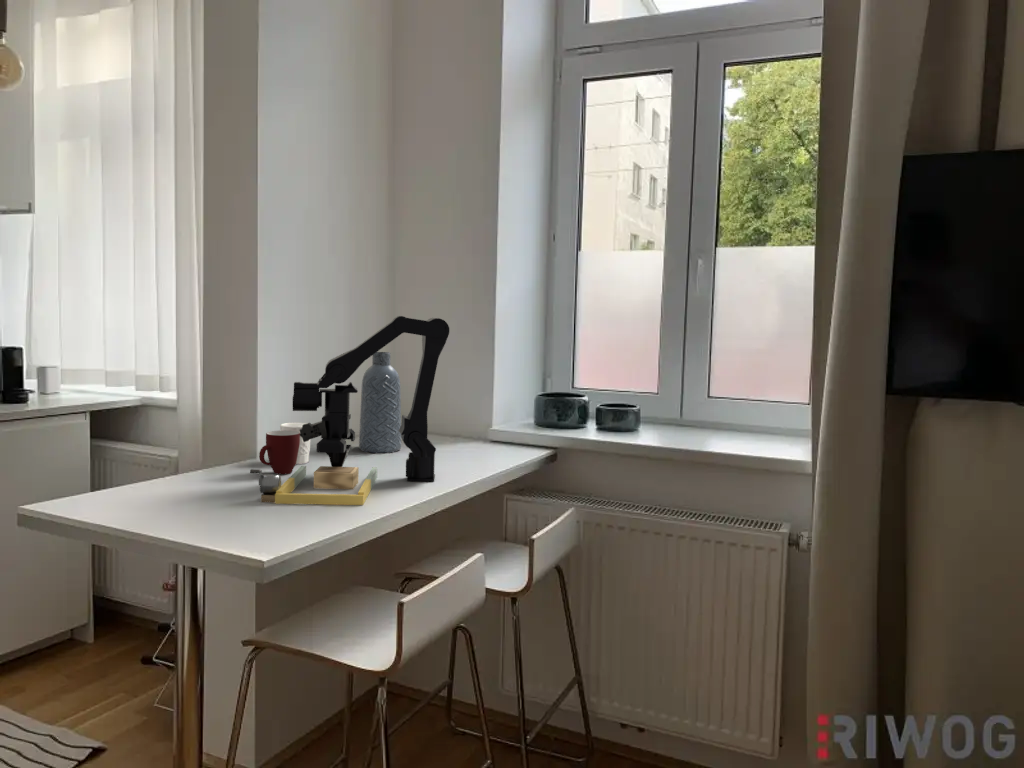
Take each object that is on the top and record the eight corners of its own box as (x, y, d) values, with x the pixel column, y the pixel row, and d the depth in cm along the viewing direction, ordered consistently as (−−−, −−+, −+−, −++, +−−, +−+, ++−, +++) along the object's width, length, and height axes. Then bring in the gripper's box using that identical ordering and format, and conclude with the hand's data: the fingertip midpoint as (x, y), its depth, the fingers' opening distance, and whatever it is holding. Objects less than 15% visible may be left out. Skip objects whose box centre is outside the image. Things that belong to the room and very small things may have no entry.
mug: (274, 479, 197) (274, 438, 196) (250, 475, 201) (250, 434, 200) (306, 472, 206) (306, 432, 205) (283, 468, 210) (283, 429, 209)
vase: (350, 449, 239) (351, 351, 236) (379, 444, 249) (380, 350, 246) (380, 455, 232) (382, 354, 230) (409, 449, 242) (411, 353, 239)
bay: (377, 477, 203) (377, 467, 203) (363, 505, 175) (363, 493, 175) (301, 475, 202) (301, 465, 202) (274, 503, 174) (275, 491, 174)
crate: (358, 483, 197) (358, 466, 196) (352, 490, 190) (353, 472, 189) (320, 482, 197) (320, 465, 196) (313, 489, 190) (313, 471, 189)
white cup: (309, 458, 224) (309, 422, 223) (312, 464, 216) (312, 426, 215) (279, 459, 221) (279, 422, 220) (280, 465, 214) (281, 427, 213)
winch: (281, 498, 179) (281, 467, 179) (277, 502, 175) (277, 471, 175) (253, 497, 179) (253, 467, 178) (248, 502, 175) (248, 471, 174)
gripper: (310, 405, 205) (310, 467, 207) (294, 415, 187) (293, 483, 188) (355, 406, 206) (354, 468, 208) (343, 417, 187) (343, 484, 189)
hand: (336, 475), depth 198 cm, fingers closed
